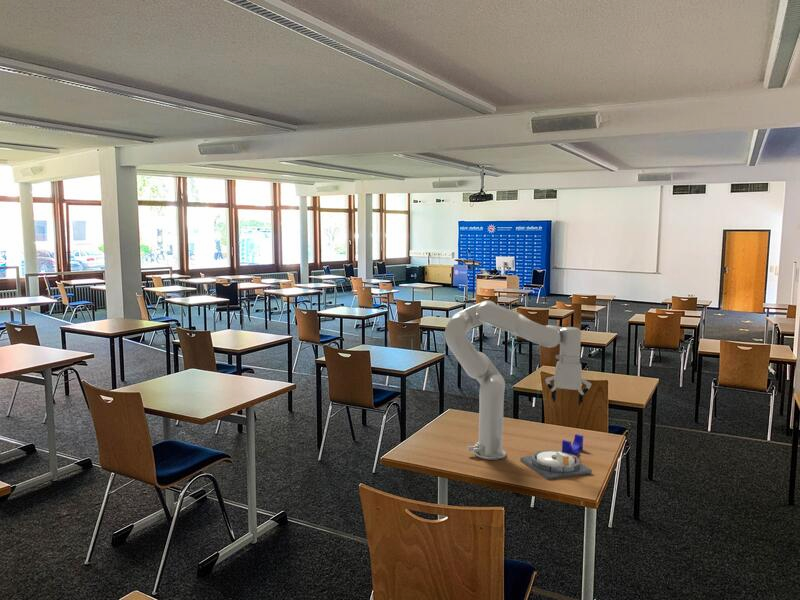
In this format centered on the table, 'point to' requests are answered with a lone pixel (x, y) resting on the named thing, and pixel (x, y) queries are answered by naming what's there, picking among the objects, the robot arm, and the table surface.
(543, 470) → the panel
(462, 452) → the table surface
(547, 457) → the dial
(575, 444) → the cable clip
